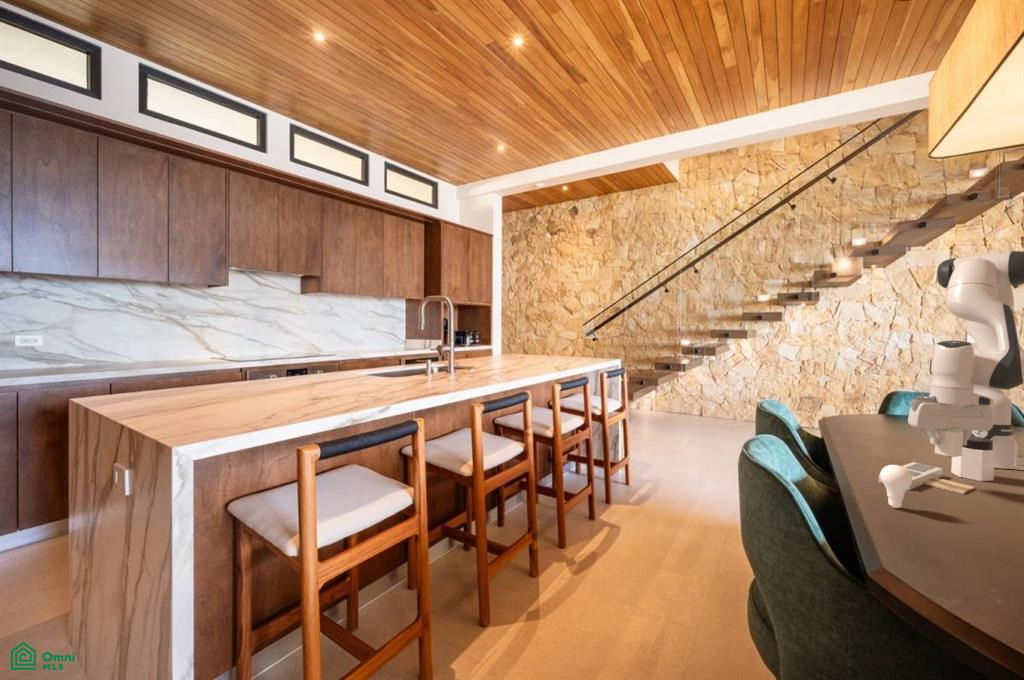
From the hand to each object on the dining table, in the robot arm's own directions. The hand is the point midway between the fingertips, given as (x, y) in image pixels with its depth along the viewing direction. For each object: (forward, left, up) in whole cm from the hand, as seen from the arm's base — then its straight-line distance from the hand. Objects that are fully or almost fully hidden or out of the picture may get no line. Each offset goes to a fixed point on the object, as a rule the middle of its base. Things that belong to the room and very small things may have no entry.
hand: (948, 444), depth 125 cm
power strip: (-1, -7, -12) cm, 14 cm away
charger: (0, 0, -3) cm, 3 cm away
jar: (-18, +1, -13) cm, 22 cm away
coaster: (0, 0, -12) cm, 12 cm away
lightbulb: (+33, 0, -13) cm, 35 cm away
